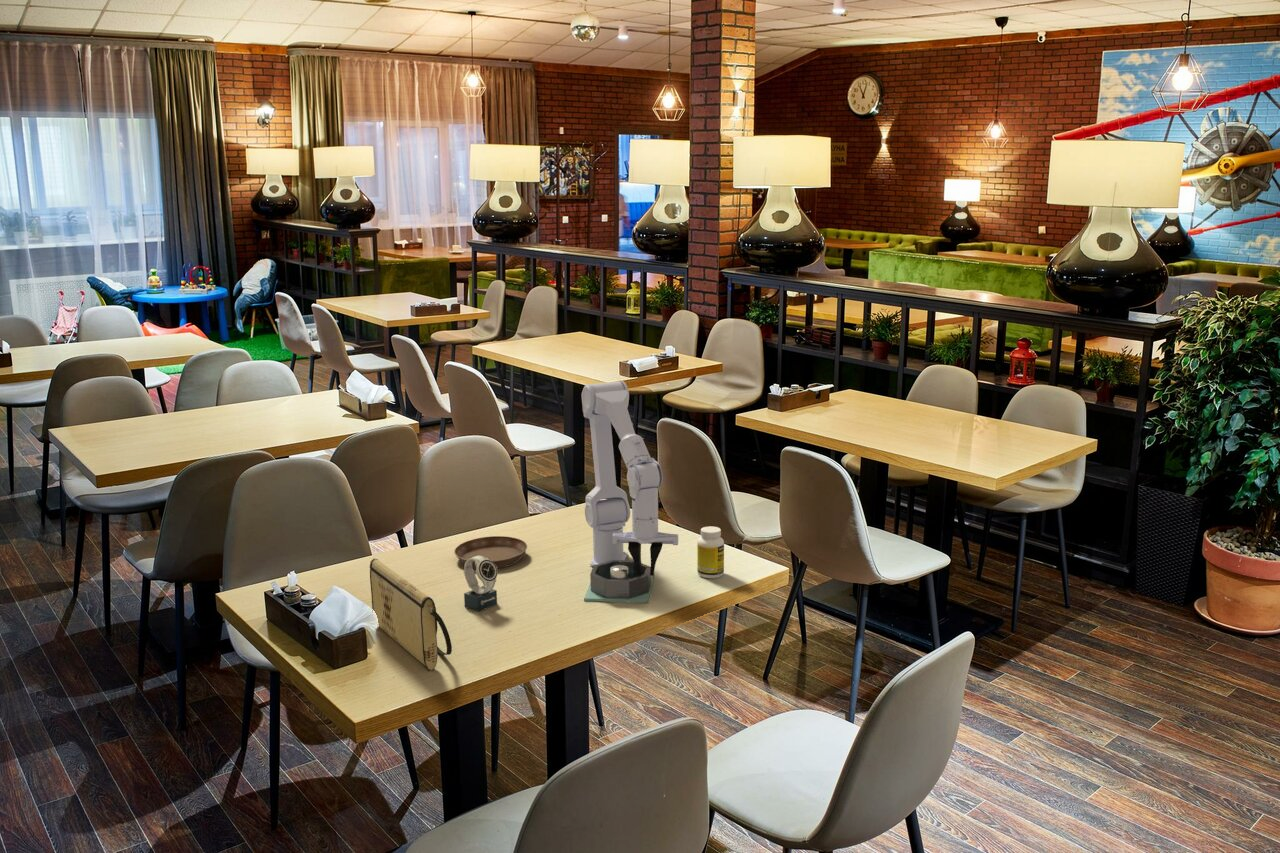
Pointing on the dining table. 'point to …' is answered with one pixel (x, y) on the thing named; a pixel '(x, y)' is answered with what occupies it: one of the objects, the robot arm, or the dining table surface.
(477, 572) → the watch
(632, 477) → the robot arm
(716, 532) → the pill bottle
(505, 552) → the plant saucer
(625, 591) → the gunmetal ring
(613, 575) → the post
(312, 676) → the dining table surface
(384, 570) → the clutch purse
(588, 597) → the teal board
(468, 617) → the dining table surface
